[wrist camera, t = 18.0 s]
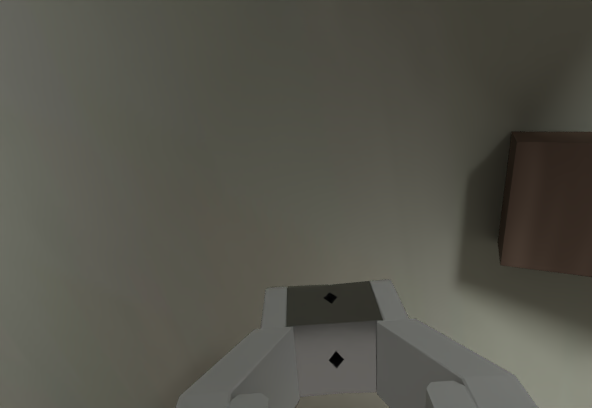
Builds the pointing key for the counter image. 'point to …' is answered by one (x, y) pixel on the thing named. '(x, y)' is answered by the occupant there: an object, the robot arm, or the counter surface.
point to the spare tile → (548, 203)
